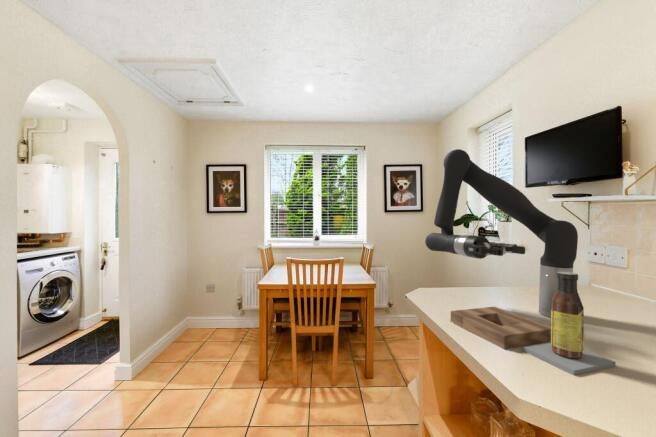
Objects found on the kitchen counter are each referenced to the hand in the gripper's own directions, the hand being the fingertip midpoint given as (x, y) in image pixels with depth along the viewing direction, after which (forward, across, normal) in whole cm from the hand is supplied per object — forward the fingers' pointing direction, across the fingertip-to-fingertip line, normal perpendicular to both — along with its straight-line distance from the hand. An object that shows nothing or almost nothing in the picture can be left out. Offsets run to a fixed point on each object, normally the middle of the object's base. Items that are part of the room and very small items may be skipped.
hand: (513, 251), depth 88 cm
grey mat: (+15, -1, +24) cm, 29 cm away
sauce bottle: (+15, -1, +24) cm, 28 cm away
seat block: (-3, -3, +24) cm, 24 cm away
